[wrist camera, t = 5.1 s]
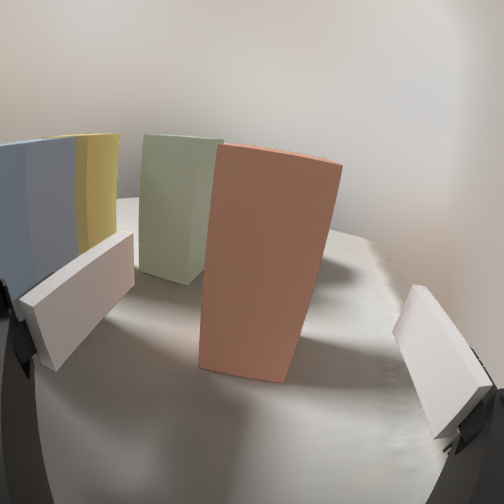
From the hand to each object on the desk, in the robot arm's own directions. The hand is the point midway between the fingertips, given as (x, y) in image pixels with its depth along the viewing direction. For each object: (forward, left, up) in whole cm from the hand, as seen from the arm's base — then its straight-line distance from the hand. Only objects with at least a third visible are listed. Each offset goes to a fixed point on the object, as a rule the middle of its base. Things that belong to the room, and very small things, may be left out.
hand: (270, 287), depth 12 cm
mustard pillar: (-17, +8, -6) cm, 19 cm away
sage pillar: (-9, +12, -6) cm, 16 cm away
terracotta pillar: (-1, +3, -6) cm, 7 cm away
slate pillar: (-15, 0, -6) cm, 16 cm away
